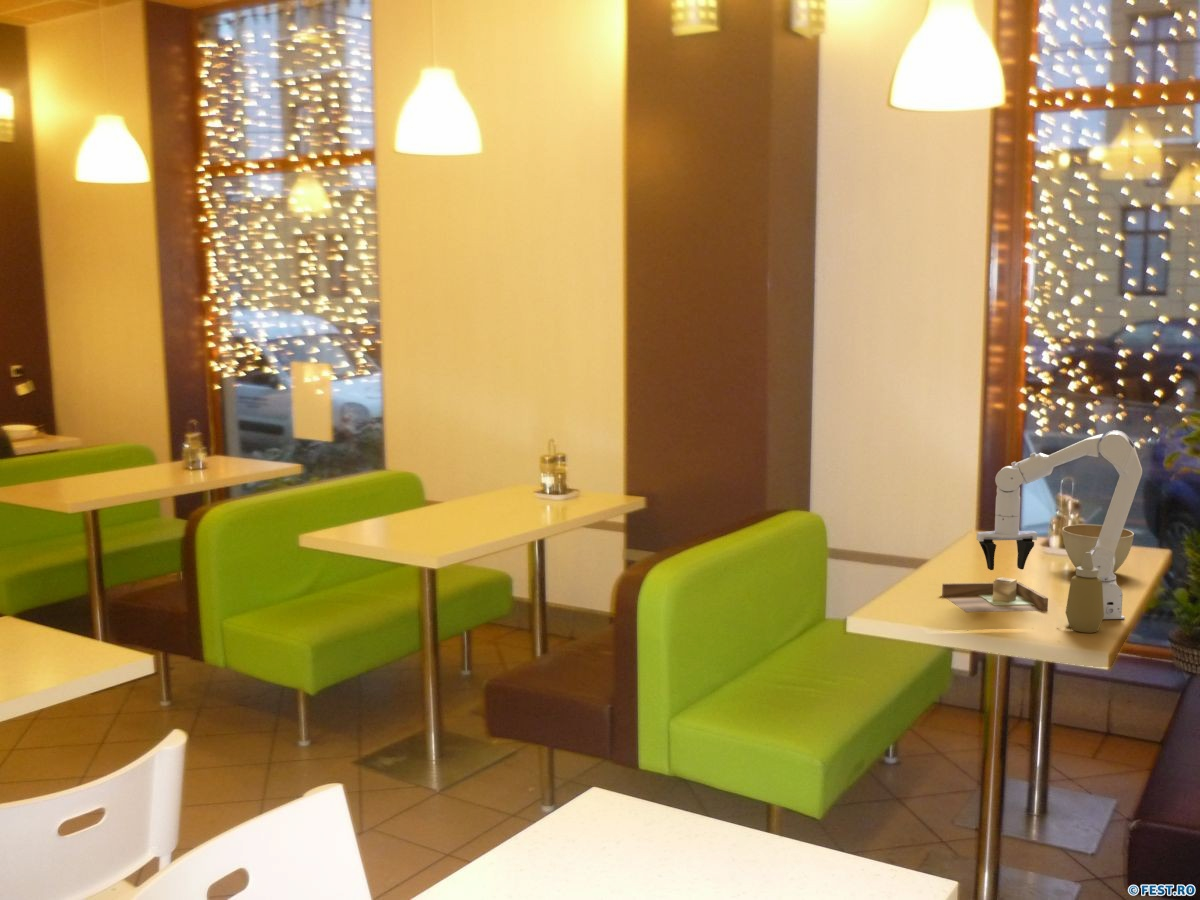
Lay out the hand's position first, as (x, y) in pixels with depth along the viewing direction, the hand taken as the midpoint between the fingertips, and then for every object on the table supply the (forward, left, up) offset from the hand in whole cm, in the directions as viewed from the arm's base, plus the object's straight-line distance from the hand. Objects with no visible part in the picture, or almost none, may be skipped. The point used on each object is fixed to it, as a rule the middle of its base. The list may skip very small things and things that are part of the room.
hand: (1005, 568), depth 281 cm
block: (0, 0, -8) cm, 8 cm away
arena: (-2, +4, -9) cm, 10 cm away
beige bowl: (+29, -38, -9) cm, 49 cm away
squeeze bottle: (-24, -8, -9) cm, 27 cm away
